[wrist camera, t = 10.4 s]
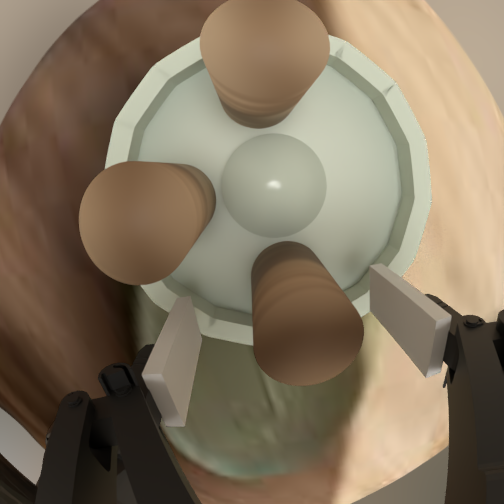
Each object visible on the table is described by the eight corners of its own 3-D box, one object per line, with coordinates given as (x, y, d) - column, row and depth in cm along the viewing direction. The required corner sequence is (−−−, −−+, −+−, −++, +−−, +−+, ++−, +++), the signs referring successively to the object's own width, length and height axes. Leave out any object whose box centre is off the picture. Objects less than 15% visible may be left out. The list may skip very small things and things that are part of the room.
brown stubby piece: (246, 246, 19) (244, 302, 11) (318, 236, 18) (364, 282, 11) (256, 312, 20) (261, 392, 12) (323, 301, 20) (361, 374, 12)
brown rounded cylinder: (152, 242, 18) (96, 291, 11) (138, 172, 17) (68, 179, 9) (222, 230, 18) (204, 276, 11) (209, 156, 17) (179, 147, 9)
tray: (160, 341, 21) (151, 359, 19) (105, 76, 16) (88, 67, 13) (412, 298, 21) (428, 312, 18) (384, 39, 15) (399, 26, 13)
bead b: (225, 134, 17) (208, 106, 9) (214, 66, 15) (193, 2, 8) (301, 123, 17) (341, 91, 9) (288, 56, 15) (314, -10, 8)
